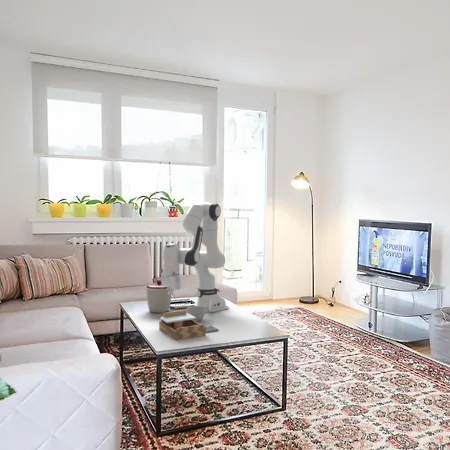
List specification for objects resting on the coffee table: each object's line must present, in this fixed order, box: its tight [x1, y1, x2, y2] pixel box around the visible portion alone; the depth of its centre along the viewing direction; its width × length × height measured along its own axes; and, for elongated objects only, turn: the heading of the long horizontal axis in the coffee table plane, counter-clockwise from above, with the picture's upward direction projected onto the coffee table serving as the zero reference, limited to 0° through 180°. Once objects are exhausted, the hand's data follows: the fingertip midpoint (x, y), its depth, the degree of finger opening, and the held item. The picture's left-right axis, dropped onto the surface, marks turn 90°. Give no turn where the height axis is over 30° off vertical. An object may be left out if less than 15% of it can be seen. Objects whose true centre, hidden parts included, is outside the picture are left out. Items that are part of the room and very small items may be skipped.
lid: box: [159, 309, 196, 323], centre depth 250 cm, size 18×10×3 cm, turn 121°
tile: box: [205, 325, 219, 334], centre depth 251 cm, size 8×8×1 cm
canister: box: [144, 278, 172, 314], centre depth 289 cm, size 18×18×21 cm
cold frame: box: [158, 319, 207, 341], centre depth 246 cm, size 18×22×6 cm
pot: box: [173, 321, 184, 331], centre depth 251 cm, size 6×6×6 cm
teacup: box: [186, 305, 209, 322], centre depth 270 cm, size 14×11×8 cm
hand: (170, 294), depth 258 cm, fingers closed
